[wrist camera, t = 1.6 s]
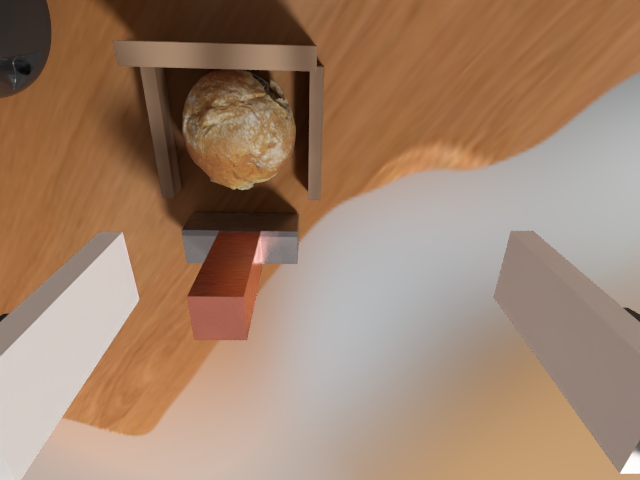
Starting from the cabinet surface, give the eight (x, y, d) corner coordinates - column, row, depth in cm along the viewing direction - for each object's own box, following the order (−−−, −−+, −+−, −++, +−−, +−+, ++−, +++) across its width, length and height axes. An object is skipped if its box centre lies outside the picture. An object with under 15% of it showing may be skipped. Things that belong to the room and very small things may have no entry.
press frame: (170, 189, 40) (139, 221, 33) (146, 40, 34) (102, 40, 26) (319, 191, 40) (321, 224, 33) (323, 45, 34) (327, 46, 27)
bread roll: (308, 111, 39) (323, 95, 31) (265, 205, 39) (270, 212, 32) (213, 61, 36) (205, 30, 29) (170, 161, 37) (150, 158, 29)
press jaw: (198, 246, 43) (147, 339, 29) (194, 211, 41) (137, 294, 27) (298, 247, 43) (292, 340, 30) (298, 213, 41) (292, 296, 28)
